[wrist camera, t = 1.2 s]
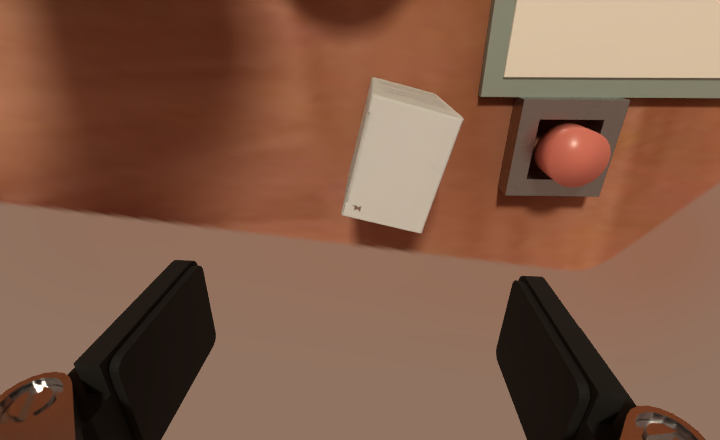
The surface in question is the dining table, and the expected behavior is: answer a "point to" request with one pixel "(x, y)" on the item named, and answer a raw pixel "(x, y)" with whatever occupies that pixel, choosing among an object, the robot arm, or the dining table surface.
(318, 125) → the dining table surface
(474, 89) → the dining table surface
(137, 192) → the dining table surface
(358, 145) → the small box
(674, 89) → the board
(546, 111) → the button housing
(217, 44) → the dining table surface
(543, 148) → the red rounded knob
